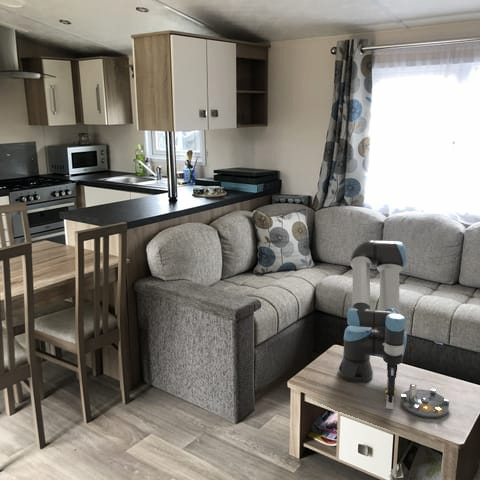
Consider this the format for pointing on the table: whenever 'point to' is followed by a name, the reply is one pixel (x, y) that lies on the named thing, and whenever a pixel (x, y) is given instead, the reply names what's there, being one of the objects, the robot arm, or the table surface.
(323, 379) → the table surface
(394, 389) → the roller
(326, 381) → the table surface
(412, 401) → the dark grey round base
